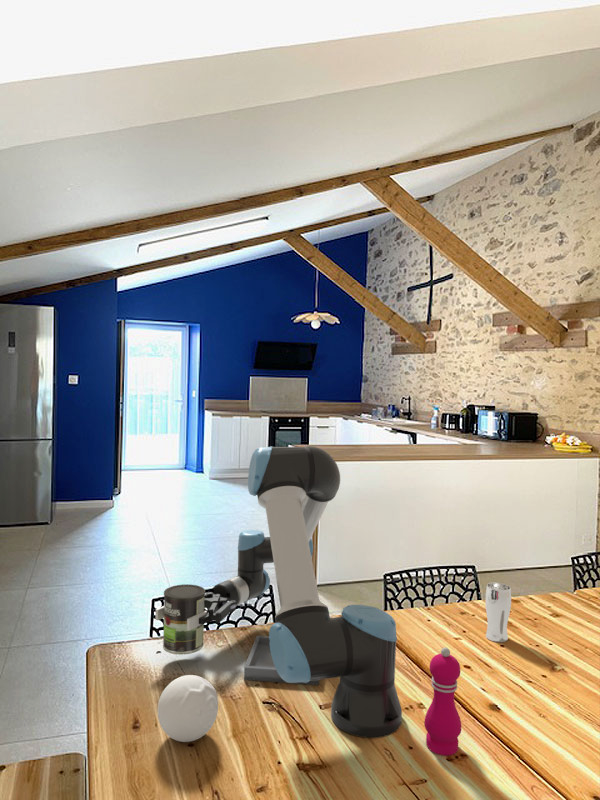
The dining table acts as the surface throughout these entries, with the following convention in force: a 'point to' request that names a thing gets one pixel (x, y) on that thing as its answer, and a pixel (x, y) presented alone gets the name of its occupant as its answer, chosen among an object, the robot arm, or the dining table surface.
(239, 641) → the dining table surface
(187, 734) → the decorative ball
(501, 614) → the beer glass
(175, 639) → the coffee can
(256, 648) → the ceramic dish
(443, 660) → the pepper mill
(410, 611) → the dining table surface
